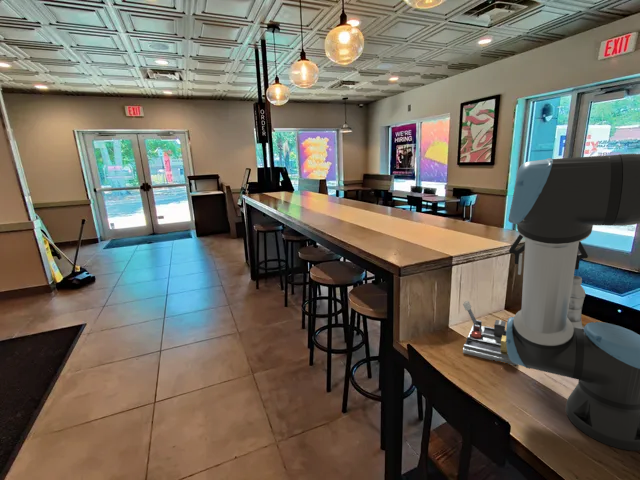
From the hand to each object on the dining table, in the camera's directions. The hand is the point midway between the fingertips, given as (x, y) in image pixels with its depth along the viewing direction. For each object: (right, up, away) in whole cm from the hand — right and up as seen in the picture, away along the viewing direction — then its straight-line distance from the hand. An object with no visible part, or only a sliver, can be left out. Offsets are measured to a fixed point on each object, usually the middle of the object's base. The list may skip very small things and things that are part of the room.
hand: (544, 276), depth 102 cm
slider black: (-10, -21, +8) cm, 25 cm away
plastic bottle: (+15, -21, +9) cm, 27 cm away
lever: (-16, -20, +11) cm, 28 cm away
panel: (-14, -24, +5) cm, 28 cm away
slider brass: (-13, -24, -2) cm, 27 cm away
